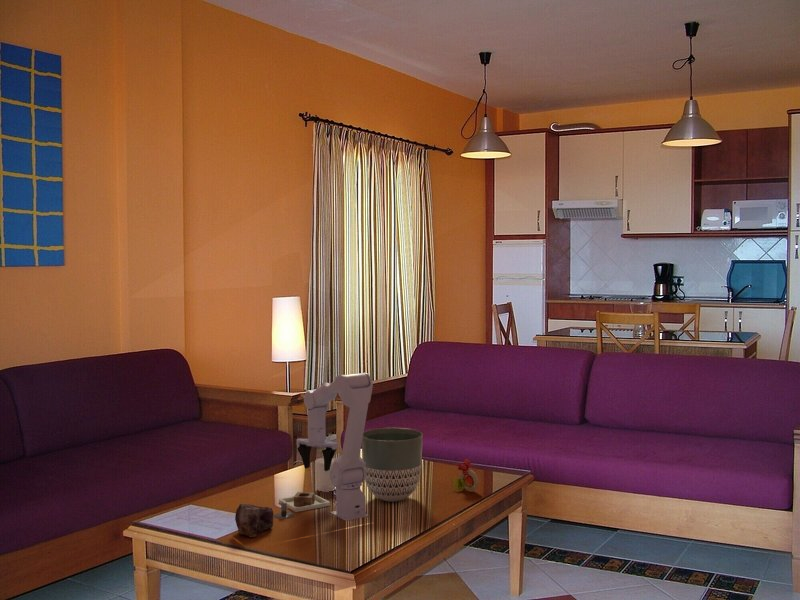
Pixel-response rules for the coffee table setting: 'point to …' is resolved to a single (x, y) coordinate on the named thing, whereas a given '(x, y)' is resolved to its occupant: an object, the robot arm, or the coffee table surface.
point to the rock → (253, 519)
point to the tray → (317, 504)
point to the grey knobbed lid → (283, 513)
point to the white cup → (323, 476)
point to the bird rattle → (467, 482)
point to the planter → (392, 462)
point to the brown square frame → (304, 499)
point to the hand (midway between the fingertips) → (317, 469)
